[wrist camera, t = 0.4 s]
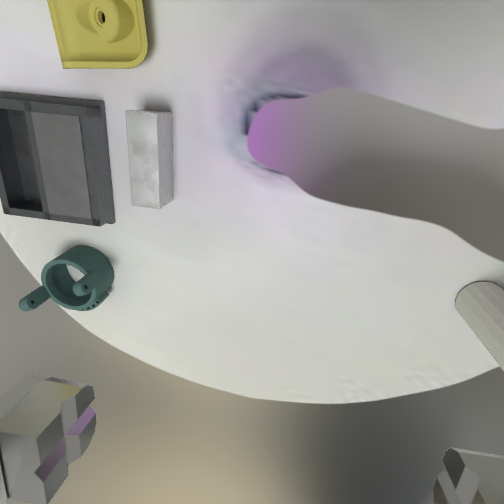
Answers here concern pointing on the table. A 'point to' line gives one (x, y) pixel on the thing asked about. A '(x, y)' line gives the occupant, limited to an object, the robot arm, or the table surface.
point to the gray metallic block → (150, 157)
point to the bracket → (65, 288)
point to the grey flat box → (55, 159)
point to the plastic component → (99, 33)
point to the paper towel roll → (484, 315)
